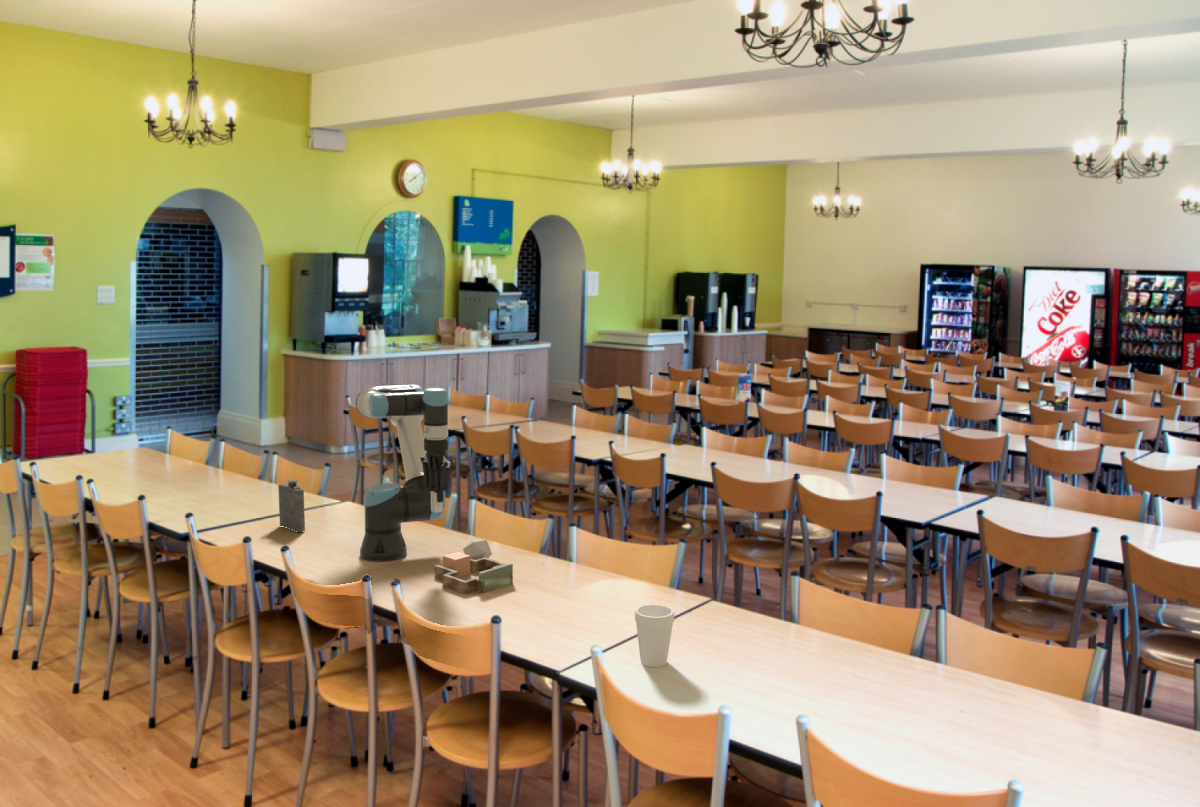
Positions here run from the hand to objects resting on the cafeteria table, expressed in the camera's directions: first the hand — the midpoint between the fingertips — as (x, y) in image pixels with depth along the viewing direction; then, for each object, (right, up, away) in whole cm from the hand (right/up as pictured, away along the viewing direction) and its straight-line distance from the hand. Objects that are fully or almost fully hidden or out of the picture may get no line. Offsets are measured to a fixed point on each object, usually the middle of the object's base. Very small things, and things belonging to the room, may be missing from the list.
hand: (436, 511), depth 299 cm
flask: (-60, -12, +45) cm, 76 cm away
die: (+12, -18, +8) cm, 23 cm away
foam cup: (+65, -29, -69) cm, 99 cm away
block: (+7, -19, -4) cm, 21 cm away
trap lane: (+13, -20, -9) cm, 25 cm away
